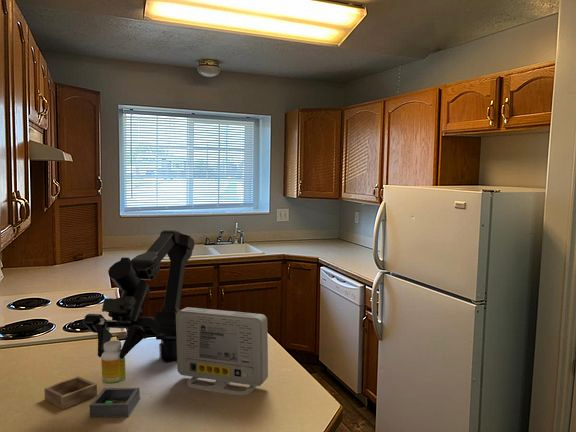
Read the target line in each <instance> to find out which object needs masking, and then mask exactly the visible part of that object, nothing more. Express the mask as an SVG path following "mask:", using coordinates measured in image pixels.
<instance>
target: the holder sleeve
mask: <svg viewBox="0 0 576 432" xmlns="http://www.w3.org/2000/svg"><path fill="white" fill-rule="evenodd" d="M97 387H98V385H97V383H94V382H92V381H90V380H88V379H86V378H83V377H81V376H79V375H77V376H75V377H71V378H68V379H66V380H63V381H59V382H58V383H55V384H52V385H49V386H46V387H43V388H44V390H43V391H44V400H45V401H47V402H49V403H51V404H52V405H55V407H59V408H60V409H62V410H66V409H68V408H70V407H72V406H76V405H78V404H80V403H82V402H84V401H87V400H89V399H92V398H96V397H97V396H98V389H97Z"/></svg>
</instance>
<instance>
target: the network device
mask: <svg viewBox="0 0 576 432" xmlns="http://www.w3.org/2000/svg"><path fill="white" fill-rule="evenodd" d="M268 334H269V333H268V317H267V316H266V315H265V314H263V313H255V312H254V313H252V312H242V311H234V310H233V311H232V310H220V309H209V308H199V307H190V306H189V307H188V306H187V307H184V308H182V309H180V311H178V312H177V314H176V337H177V360H176V365H177V366H176V367H177V368H176V369H177V372H178V373H179V374H180V375H181V376H184V377H185V376H187V377H191V378H190V379H188V380H187V382H186V386H187V387H188V388H190V389H196V390H202V391H208V392H214V393H220V394H221V393H223V394H227V395H235V396H247V395H248V394H251V393H252V391H254V390H255V388H256V387H260V386H262V385H263V384H264V382H266V380H268V377H269V349H268V347H269V345H268V341H269V340H268V339H269V338H268ZM198 379H206V380H211V381H212V380H214V381H215V382H214V383H213V385H209V386H206V385H202V384H201V385H200V384H195V383H194V382H195V381H197V380H198ZM229 383H233V384H239V385H246V386H248V387H247V388H246V389H245V390H241V391H239V390H233V389H226V386H227V385H229Z"/></svg>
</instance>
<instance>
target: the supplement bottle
mask: <svg viewBox="0 0 576 432" xmlns="http://www.w3.org/2000/svg"><path fill="white" fill-rule="evenodd" d="M121 349H122V341H121V340H110V341H108V342H106V343H104V351H105V352H103V353H102V355H101V357H100V358H101V381H102V382H101V383H102V385H104V386H106V387H113V386H119V385H121V384H123V383H125V382H126V379H127V377H126V376H127V374H126V373H127V372H126V356H125V357H124V358H123V359H121V358H120V357H119V356H120V352H121Z"/></svg>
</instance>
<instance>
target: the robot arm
mask: <svg viewBox="0 0 576 432" xmlns="http://www.w3.org/2000/svg"><path fill="white" fill-rule="evenodd" d="M194 248H195V240H194V238H193V237H191V235H187V234H185V233H181V232H180V231H178V230H171V229H170V230H161V232H160V233H159V237H157V239H156V240H155V241H154V242H153V244H152V245H151V246H150V247H149V248H148V249H147V250H146V252H143V253H141V254H138V255H136V256H134V257H133V258H132V259H130V257H126V256H125V257H121V258H120V260H118V261H117V262H115V263H113V264H112V265H111V266H110V267H109V268H108V272H107V273H108V277H110V279H111V280H112V281H113V283H114V284H115V285H116V287H117V288H118V289H119V290H120V291H122V293H121V296H120V297H117V298H111V297H110V298H105V297H104V299H103V302H102V308H101V312H103V313H104V312H106V313H107V315H108V317H109V318H111V319H106V318H105V317H104V316H103V315H102V313H87V314H86V315H85V316H84V318H83V320H82V324H83V325H84V326H85V327H86V328H87V329H88V330H89V331H90V332H91V333H94V334H97V357H99V358H101V355H102V353H103V352H105V351H104V343H106V342H108V341H112V340H111V339H112V338H113V336H114V335H113V334H112V333H111V331H110V330H111V328H112V329H125V330H126V329H127V334H126V336H125V340H124V341H123V345H122V346H121V352H120V356H119V357H120V358H121V359H123V358H124V357H125V358H126V355H128V353H130V352H131V350H132V349H134V348H135V347H136V346H137V345H138V344H139V343H140V342H141V341H142V340H146V339H147V337H155V340H157V341H158V340H159V341H160V343H159V344H158V346H159V347H158V348H159V357H160V359H162V361H163V362H164V363H168V362H169V363H170V362H174V361H177V337H176V314H177V312H178V311H180V310H181V309H180V307H181V305H180V304H181V298H182V291H183V285H184V284H183V282H184V276H185V268H186V263H187V262H188V261H189V259H191V257H192V255H193V250H194ZM166 256H168V259H169V266H168V267H169V269H168V273H167V274H168V276H167V280H166V287H165V294H164V301H163V307H161V309H160V310H157V312H156V313H155V316H145V315H144V316H142V315H141V316H139V314H140V313H141V314H142V313H143V310H144V309H143V307H142V305H143V303H144V300H145V297H146V295H149V294H150V293H151V290H150V287H149V285H148V283H146V281H153V280H155V279H156V277H157V276H158V275H159V272H160V271H161V268H160V266H161V265H160V264H161V262H162V261H163V259H164V258H165V257H166ZM145 280H146V281H145ZM138 316H139V317H138Z"/></svg>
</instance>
